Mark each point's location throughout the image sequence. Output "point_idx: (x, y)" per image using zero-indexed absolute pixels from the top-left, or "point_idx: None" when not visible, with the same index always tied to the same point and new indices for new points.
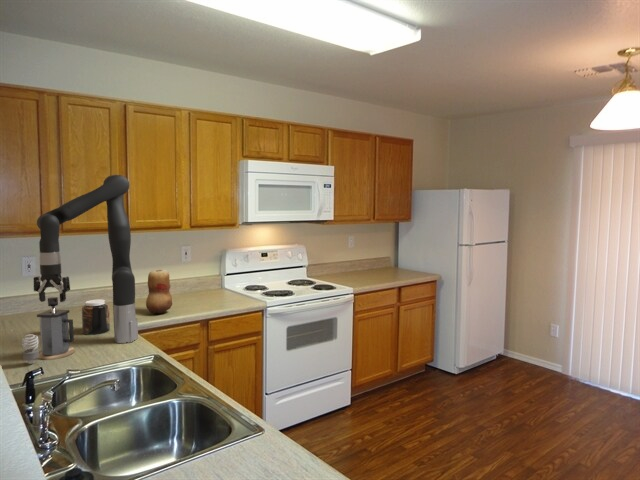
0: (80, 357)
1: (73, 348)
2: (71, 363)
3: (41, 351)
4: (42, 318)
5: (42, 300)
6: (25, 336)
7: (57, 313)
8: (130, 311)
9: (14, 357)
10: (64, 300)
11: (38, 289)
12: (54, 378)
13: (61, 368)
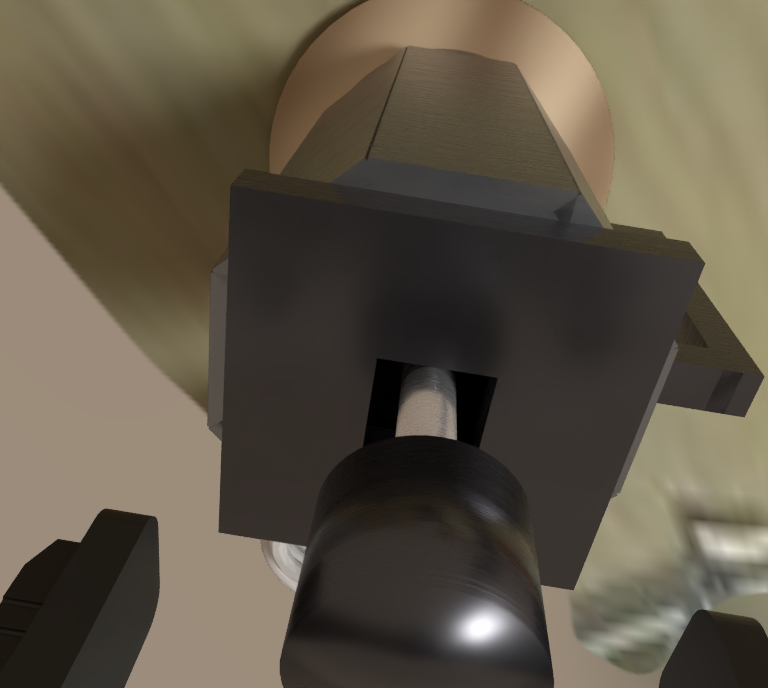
0: (712, 281)
1: (585, 67)
2: (670, 406)
3: (287, 148)
4: None
5: (148, 621)
6: (287, 569)
7: (545, 499)
8: None
9: (116, 236)
10: (750, 636)
11: None
12: (636, 615)
13: (625, 486)
